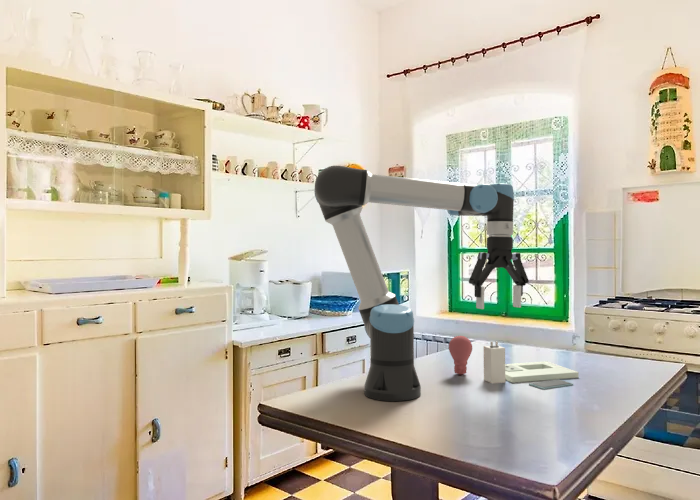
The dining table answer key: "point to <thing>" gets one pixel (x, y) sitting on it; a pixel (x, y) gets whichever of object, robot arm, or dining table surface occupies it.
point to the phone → (550, 384)
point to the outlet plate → (537, 372)
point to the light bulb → (460, 353)
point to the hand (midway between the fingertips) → (498, 308)
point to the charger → (494, 363)
